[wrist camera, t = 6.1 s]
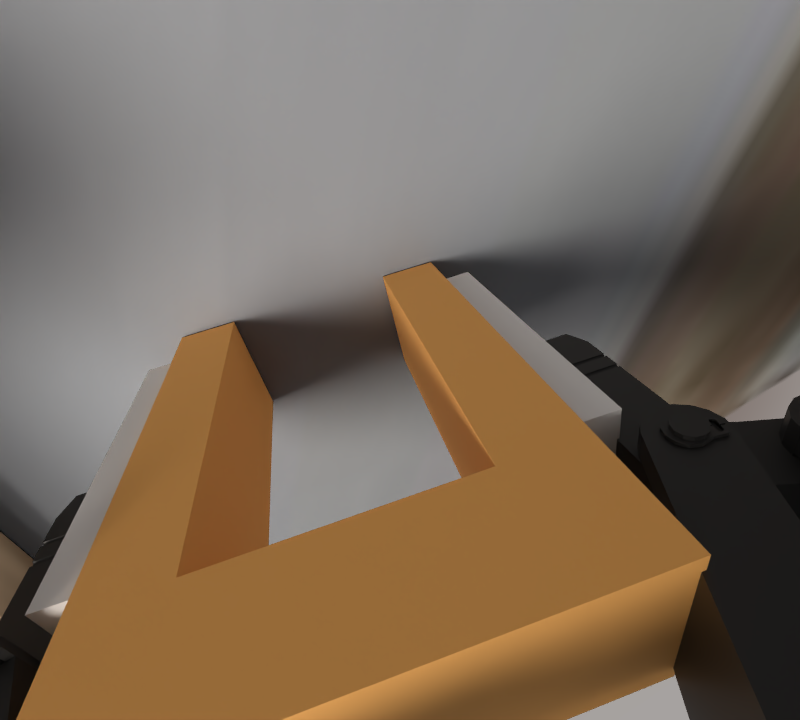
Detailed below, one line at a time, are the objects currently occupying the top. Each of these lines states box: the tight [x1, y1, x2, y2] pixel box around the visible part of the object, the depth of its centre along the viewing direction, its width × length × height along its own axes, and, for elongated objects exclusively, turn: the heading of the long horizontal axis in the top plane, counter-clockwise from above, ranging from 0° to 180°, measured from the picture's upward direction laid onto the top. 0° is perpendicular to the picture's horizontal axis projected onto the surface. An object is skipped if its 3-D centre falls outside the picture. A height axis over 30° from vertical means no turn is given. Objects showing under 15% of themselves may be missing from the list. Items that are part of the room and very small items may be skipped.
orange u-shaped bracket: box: [16, 262, 711, 720], centre depth 9 cm, size 3×8×10 cm, turn 103°
